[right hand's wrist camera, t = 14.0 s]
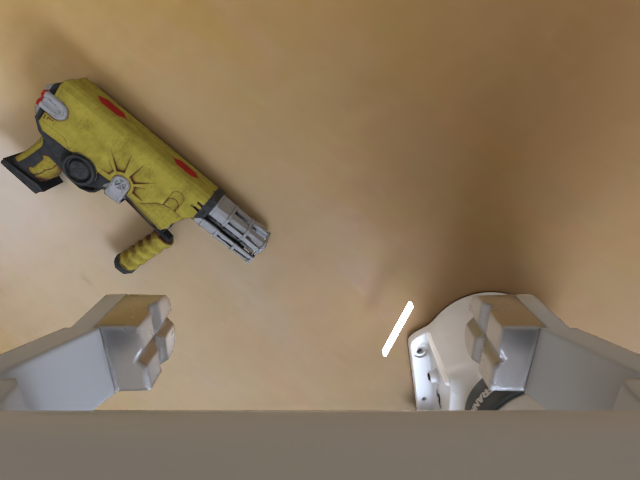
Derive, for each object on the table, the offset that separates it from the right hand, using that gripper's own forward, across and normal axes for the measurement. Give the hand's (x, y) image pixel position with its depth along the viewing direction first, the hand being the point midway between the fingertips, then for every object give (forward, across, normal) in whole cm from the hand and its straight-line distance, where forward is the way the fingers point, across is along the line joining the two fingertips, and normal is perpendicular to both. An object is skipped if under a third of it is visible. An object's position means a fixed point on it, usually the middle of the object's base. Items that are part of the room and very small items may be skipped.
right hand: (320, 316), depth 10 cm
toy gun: (+31, -19, -6) cm, 37 cm away
